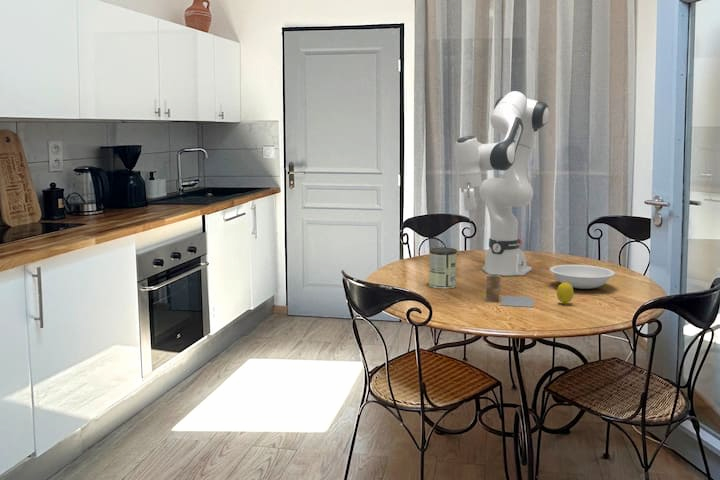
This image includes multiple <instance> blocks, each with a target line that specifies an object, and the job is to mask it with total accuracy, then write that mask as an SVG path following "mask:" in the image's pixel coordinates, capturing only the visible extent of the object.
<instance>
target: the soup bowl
mask: <svg viewBox="0 0 720 480" xmlns="http://www.w3.org/2000/svg"><path fill="white" fill-rule="evenodd" d="M549 272H551V273H552V274H553V275H554V278H555V279H556V280H557V281H558V282H560V284H562V283H564V282H567V283H569V284H570V285H571V286H572V288H573V289H581V290H582V289H583V290H584V289H585V290H586V289H587V290H588V289H597V288H599V287H601V286H603V285H605V284H606V283H607V282H608V281H609V280H610V279H611V278H612V277H614V276H616V271H614V270H612V269H610V268H607V267H603V266H602V267H601V266H595V265H588V264H560V265H559V264H558V265H553V266H551V267H549Z"/></svg>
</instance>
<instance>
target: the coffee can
mask: <svg viewBox="0 0 720 480" xmlns="http://www.w3.org/2000/svg"><path fill="white" fill-rule="evenodd" d="M457 251H458V250H457V249H456V248H452V247H443V246H442V247H441V246H440V247H432V248H429V284H428V286H429V287H430V288H434V289H443V290H444V289H445V290H447V289H454V288H455V287H456V286H457Z"/></svg>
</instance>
